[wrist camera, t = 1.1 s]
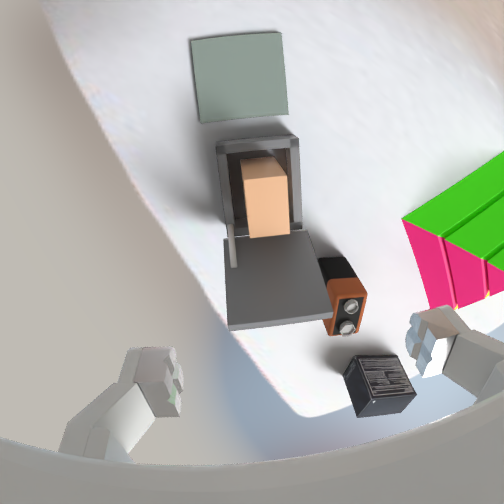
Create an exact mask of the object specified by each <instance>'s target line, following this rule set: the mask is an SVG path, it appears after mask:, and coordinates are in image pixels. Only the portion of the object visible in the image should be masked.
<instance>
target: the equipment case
mask: <svg viewBox="0 0 504 504" xmlns="http://www.w3.org/2000/svg"><path fill="white" fill-rule="evenodd" d="M279 148H286V159H287V175H288V193H289V212H290V213H289V224H290V230H296V231H290V234H284V235H275V236H266V237H257V238H250V236H245V235H249V229H248V222H247V218H240V219H234V211H233V202H232V194H231V186H230V178H229V169H228V161H227V154H229V153H237V152H246V151H256V150H267V149H279ZM216 153H217V161H218V169H219V177H220V184H221V192H222V199H223V207H224V214H225V222H226V229H227V236H228V238H225V239H224V263H225V284H226V304H227V322H228V329H229V331H236V330H245V329H254V328H263V327H271V326H279V325H286V324H294V323H301V322H308V321H315V320H321V319H328V318H332V317H333V308H332V305H331V302H330V299H329V295H328V292H327V289H326V286H325V283H324V279H323V276H322V273H321V270H320V267H319V264H318V261H317V258H316V255H315V252H314V249H313V246H312V243H311V240H310V237H309V234H308V231H307V229H305V230H299V229H302V199H301V175H300V154H299V138H298V137H296V136H295V135H280V136H267V137H256V138H246V139H237V140H228V141H220V142H216ZM236 236H242V237H236Z"/></svg>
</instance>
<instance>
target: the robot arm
mask: <svg viewBox="0 0 504 504" xmlns="http://www.w3.org/2000/svg"><path fill="white" fill-rule="evenodd" d="M410 324H411V326H412V327H411V328H410V329H409V330H408V331H407V334H406V339H405V340H406V348H407V351H408V353H409V355H410V357H412V358H414V359H416V360H417V361H416V367H417V368H418V370H419V372H420V374H421V375H422V377H423V378H424V377H428V376H431V375H435V374H438V373H441V372H442V374H444V375H445V376H447V377H448V378H450V379H451V380H452V381H454V382H455V383H457V384H458V385H460V386H461V387H463V388H464V389H466V390H467V391H469V392H470V393H471V394H473V395H475V396H476V397H477V399H476V401H475V402H474V404H473V406H470V407H468V408H466V409H463V410H461V411H459V412H456V413H454V414H451V415H449V416H446V417H444V418H441V419H439V420H436V421H434V422H431V423H428V424H426V425H423V426H420V427H417V428H414V429H411V430H408V431H405V432H402V433H399V434H395V435H392V436H389V437H386V438H382V439H378V440H375V441H371V442H367V443H364V444H360V445H355V446H351V447H347V448H343V449H338V450H333V451H328V452H323V453H318V454H313V455H307V456H301V457H295V458H287V459H280V460H272V461H263V462H253V463H241V464H224V465H156V464H140V463H135V462H134V460H133V459H132V458H131V457H130V456H129V454H128V453H129V452H130V451H131V450H132V448H133V447H134V446H135V445H136V443H137V442H138V440H140V438H141V437H142V436H143V434H144V433H145V432H146V431H147V429H148V428H149V427H150V426H151V424H152V423H153V422H154V420H155V419H156V418H155V417H179V416H180V411H181V402H182V401H181V398H180V396H179V394H180V393H181V392H182V391H183V373H182V369H181V366H180V364H179V363H177V362H176V356H177V354H176V352H175V349H174V348H173V347H144V348H130V349H129V350H128V351H127V354H126V357H125V361H124V364H123V367H122V370H121V373H120V376H119V380H118V383H113V384H112V385H111V386H109V387H108V388H107V389H106V390H105V391H104V392H103V393H101V394H100V395H99V396H98V397H97V398H96V399H94V400H93V401H92V402H91V403H90V404H89V405H88V406H87V407H85V408H84V409H83V410H82V411H81V412H80V413H78V414H77V415H76V416H75V417H74V418H72V419H71V420H70V421H69V422H68V423H67V426H66V429H65V432H64V435H63V438H62V441H61V444H60V447H59V451H58V452H55V451H51V450H46V449H42V448H38V447H34V446H30V445H26V444H22V443H19V442H15V441H12V440H8V439H5V438H2V437H0V504H504V343H503V342H501V341H499V340H496V339H494V338H492V337H490V336H487V335H485V334H483V333H481V332H478V331H476V330H470V329H469V327H468V326H467V325H466V324H465V323H464V321H463V320H462V319H461V318H460V317H459V316H458V314H457V313H456V312H455V311H454V310H453V309H452V307H451V306H449V305H444V306H440V307H436V308H433V309H429V310H425V311H420V312H416V313H413V314H412V316H411V318H410Z"/></svg>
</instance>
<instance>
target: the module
mask: <svg viewBox="0 0 504 504" xmlns="http://www.w3.org/2000/svg"><path fill="white" fill-rule="evenodd" d="M240 163H241V172H242V181H243V191H244V200H245V209H246V215H247V222H248V229H249V235H250V238H257V237H266V236H275V235H284V234H290V224H289V203H288V184H287V175H286V173H285V172H284V171H283V169H282V168H281V166H280V165H279V163H278V162H277V160H276V159H275V157H274V156H272V157H262V158H252V159H242V160H240Z"/></svg>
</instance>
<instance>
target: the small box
mask: <svg viewBox="0 0 504 504" xmlns="http://www.w3.org/2000/svg"><path fill="white" fill-rule="evenodd" d="M343 378H344V381H345V384H346V386H347V389H348V392H349V395H350V398H351V401H352V404H353V407H354V410H355V413H356V416H357V418H361V417H370V416H379V415H387V414H395V413H401V412H402V411H403V410H404V409H405V408H406V407H407V405H408V404H409V403H410V402H411V401H412V400H413V399H414V397H415V396H416V395H417V394H416V392H415V390H414V388H413V387H412V385H411V383H410V381H409V378H408V377H407V375H406V373H405V370H404V369H403V366H402V365H401V363H400V360H399V359H398V356H354V358H353V359H352V361H351V363H350V365H349V366H348V368H347V370H346V371H345V373H344V375H343Z"/></svg>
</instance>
